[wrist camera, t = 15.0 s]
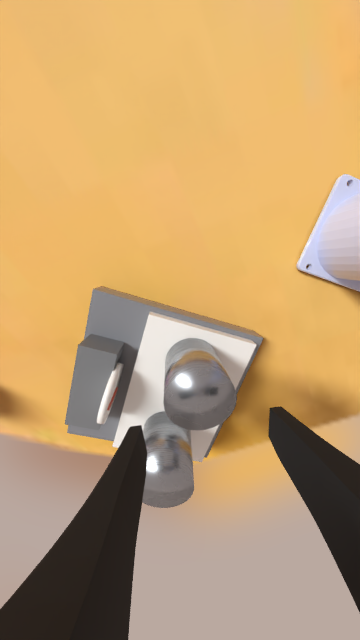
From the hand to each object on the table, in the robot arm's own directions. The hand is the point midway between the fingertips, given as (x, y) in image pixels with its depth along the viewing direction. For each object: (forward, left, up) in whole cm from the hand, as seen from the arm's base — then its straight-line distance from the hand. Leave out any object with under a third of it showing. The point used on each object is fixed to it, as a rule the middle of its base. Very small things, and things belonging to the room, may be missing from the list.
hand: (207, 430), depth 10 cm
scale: (+2, +4, -10) cm, 11 cm away
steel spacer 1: (0, +8, -7) cm, 10 cm away
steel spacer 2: (0, 0, -7) cm, 7 cm away
